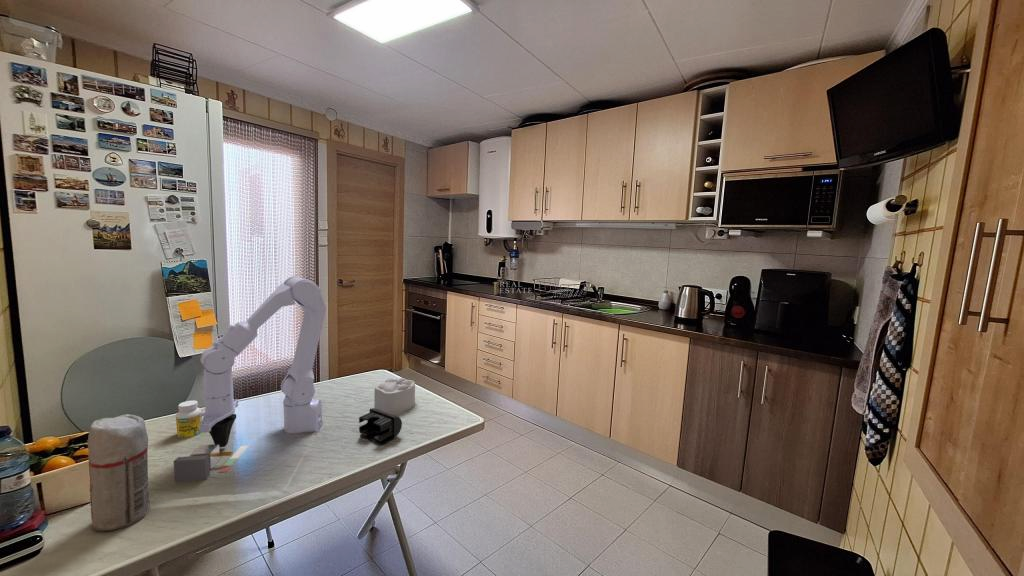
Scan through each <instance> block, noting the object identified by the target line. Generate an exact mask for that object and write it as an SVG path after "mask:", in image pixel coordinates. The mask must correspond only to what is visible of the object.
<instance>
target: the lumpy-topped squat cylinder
mask: <svg viewBox="0 0 1024 576" xmlns="http://www.w3.org/2000/svg"><path fill="white" fill-rule="evenodd" d="M415 400H416V382H415V381H414V380H412V379H409V378H408V379H406V378H404V377H400V378H398V379H397V378H395V379H394V378H392V377H389V378H387V379H385V381H384V382H381V383H379V384H377V385H375V386H374V401H373V402H374V408H375V409H378V410H380V411H383V412H386V413H389V414H391V415H397V414H399V413H403V412H405V411H408V410H410V409H412V408H413V407H414V406H415V403H416V401H415Z"/></svg>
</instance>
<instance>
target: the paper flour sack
mask: <svg viewBox="0 0 1024 576" xmlns="http://www.w3.org/2000/svg"><path fill="white" fill-rule="evenodd" d="M87 437H88V438H87V449H88V450H87V451H88V472H89V473H88V474H89V493H90V494H89V496H90V500H89V501H90V504H89V505H90V510H91V511H90V514H91V515H90V517H91V523H92V524H91V530H92V531H96V532H107V531H112V530H118V529H123V528H125V527H129V526H130V525H132V524H134V523H136V522H139V521H140V520H142V519H143V518H144V517H145V516H146V514H148V511H149V509H150V506H149V505H150V501H149V499H150V498H149V497H150V496H149V494H150V492H149V472H148V470H149V468H148V467H149V465H148V463H149V461H148V457H149V456H148V455H149V454H148V449H149V448H148V446H149V435H148V433H147V427H146V422H145V419H144V418H142V417H140V416H138V415H134V414H128V413H127V414H122V415H117V416H115V417H103V418H100V419H96V420H94V421H93V422H92V423H91V425H90V427H89V431H88V436H87Z"/></svg>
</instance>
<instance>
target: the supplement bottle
mask: <svg viewBox="0 0 1024 576" xmlns="http://www.w3.org/2000/svg"><path fill="white" fill-rule="evenodd" d="M198 406H199V404H198V401H197V400H186V401H183V402H180V403H179V404H178V412H177V413H176V415H175V421H176V433H177V438H180V439H187V438H188V439H189V438H192V437H195V436H196V437H197V436H198V435H200V434H201V433H200V431H199V425H200V424H201V423H202V420H203V416H200V413H201V412H203V411H202V409H201V408H200V407H198Z"/></svg>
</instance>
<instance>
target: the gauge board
mask: <svg viewBox="0 0 1024 576" xmlns="http://www.w3.org/2000/svg"><path fill="white" fill-rule="evenodd" d="M249 447H250V445H241V446H240V447H239V448H237V449H236V451H235V452H234V453H233V454H232V455H231V456H230V458H229V459H228V460H227V461H226V462H225V463H224V465H223V466H222V467H221V468H220V469H219V470H218V471H217V473H219V474H220V473H227V472H229V470H230V469H231V468H232V466H234V464H235V463H236V462H237V461H238V460H239V459H240V457H241V456H242V455H243V453H245V451H246V450H247V449H248V448H249ZM173 472H174V482H175V483H179V482H183V483H184V482H192V481H193V482H196V481H197V482H198V481H206V480H208V479H209V477H211V471H210V466H209V455H205V456H190V455H189V456H179V457H178V456H177V458H175V459H174V460H173Z"/></svg>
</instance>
